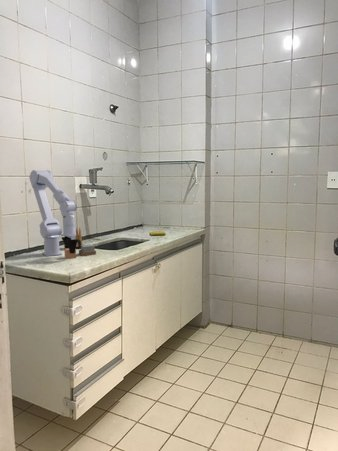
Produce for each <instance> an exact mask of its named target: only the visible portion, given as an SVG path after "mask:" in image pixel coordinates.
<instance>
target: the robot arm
mask: <svg viewBox="0 0 338 451" xmlns="http://www.w3.org/2000/svg"><path fill="white" fill-rule="evenodd" d="M29 182H30V184H31V187H32V189H33V193H34V195H35V198H36V203H37V205H38V209H39V211H40V215H41V218H42V221H41V222H40V223H39V229H40V230H39V232H40V235H41V237H42V238H43V239H44V241H43V248H44V251H43V252H42V254H43V255H44V256H45V257H51V256H61V255H62V254H63V253H62V252H61V251H60V237H61V240H62V242H63V244H64V245H65V248H64V249H67V248H69V251H70V254H72V253H75V249H76V244H77V242H78V239H76V237H75V236H76V218H75V217H76V216H75V212H76V211H77V209H78V208H77V206H78V205H77V203H76V201H75V200H74V199H71V198H70V197H69V196H68V195H67V194H66V192H65V190H64V189H60V188H59V187H58V184H57V183H56V182H55V180H54V175H53V173H52V172H51V170H48V169H47V170H34V169H32V170H31V172H30V174H29ZM47 188H48V189H49V190H50V191H51V193H53V195H52V196H53V198H54V200H55V201H56V202H57V204H58V205H59V211H60V215H61V217H62V226H61V224H60V222H59V220H57V219H56V218H54V215H53V213H52V209H51V205H50V203H49V200H48V197H47V193H46V189H47ZM76 250H77V249H76Z"/></svg>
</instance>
